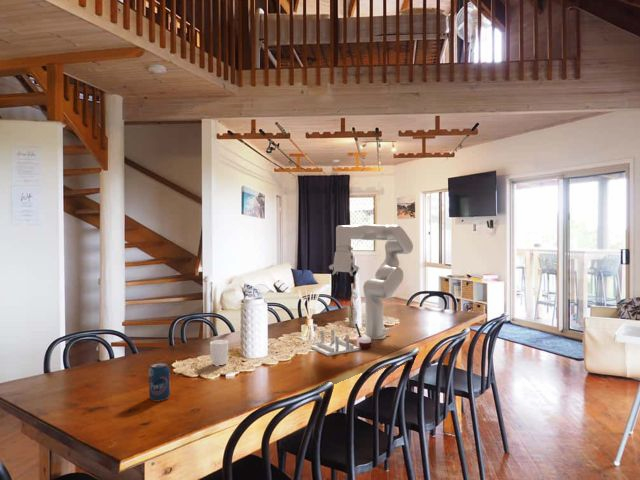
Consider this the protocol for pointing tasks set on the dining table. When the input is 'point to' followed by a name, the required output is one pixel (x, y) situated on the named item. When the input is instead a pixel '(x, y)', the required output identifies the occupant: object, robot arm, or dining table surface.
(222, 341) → the white cup
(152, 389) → the soda can
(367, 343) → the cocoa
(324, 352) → the white peg rack
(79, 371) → the dining table surface
